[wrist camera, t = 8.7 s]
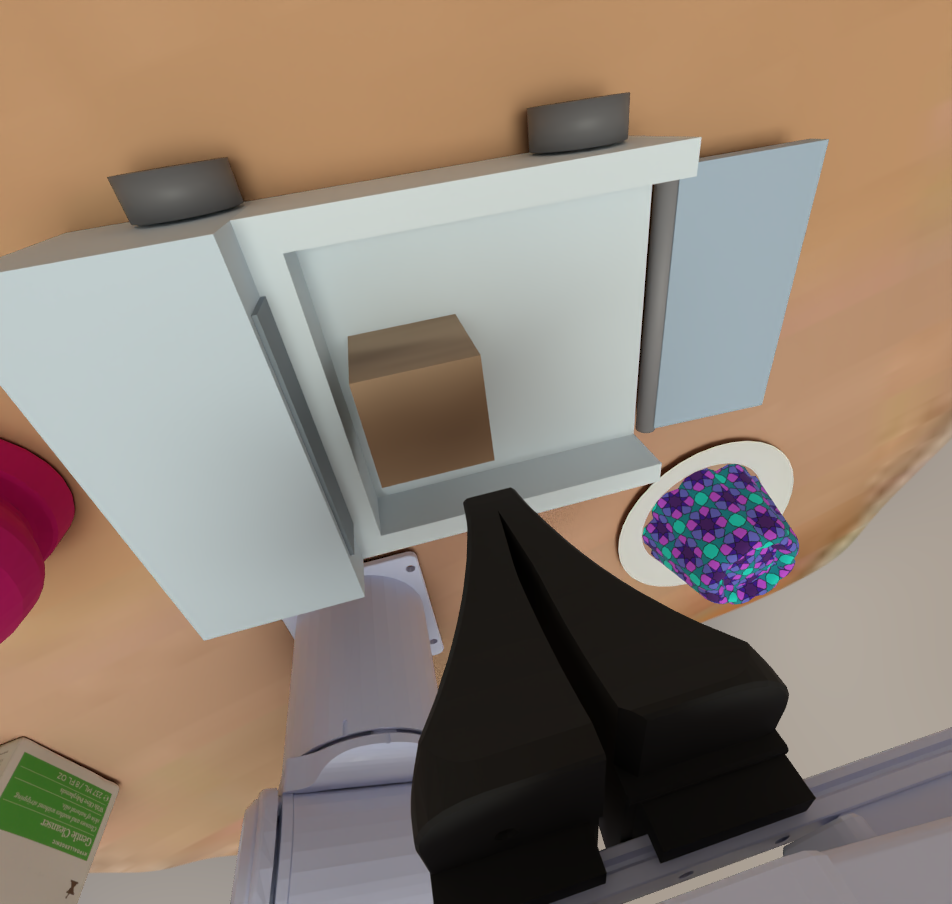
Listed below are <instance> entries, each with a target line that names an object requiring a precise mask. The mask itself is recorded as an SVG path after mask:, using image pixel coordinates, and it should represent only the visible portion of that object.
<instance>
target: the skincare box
mask: <svg viewBox="0 0 952 904" xmlns="http://www.w3.org/2000/svg"><path fill="white" fill-rule="evenodd" d="M118 792H119V786H118V785H117V784H115V783H113V782H111V781H109V780H106V779H104V778H102V777H101V776H99V775H97V774H95V773H94V772H92V771H90V770H88V769H86V768H84V767H82V766H79V765H78V764H76V763H74V762H72V761H70V760H68V759H66V758H64V757H62V756H60V755H58V754H56V753H54V752H52V751H50V750H48V749H46V748H44V747H42V746H40V745H38V744H37V743H35V742H33V741H31V740H29V739H27V738H24V737H21V738H19V739H16V740H14V741H11V742H9V743H6V744H4V745H1V746H0V904H77V903H78V900H79V897H80V894H81V891H82V889H83V886H84V883H85V881H86V878H87V875H88V873H89V870H90V867H91V865H92V862H93V859H94V856H95V854H96V851H97V849H98V846H99V843H100V841H101V838H102V835H103V832H104V830H105V827H106V824H107V821H108V819H109V816H110V813H111V811H112V808H113V805H114V803H115V800H116V797H117V795H118Z"/></svg>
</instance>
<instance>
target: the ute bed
mask: <svg viewBox="0 0 952 904" xmlns="http://www.w3.org/2000/svg"><path fill="white" fill-rule="evenodd" d="M629 105H630V92H628V93H621V94H613V95H607V96H600V97H593V98H587V99H580V100H574V101H568V102H562V103H555V104H549V105H543V106H538V107H532V108H527V120H528V138H529V153H524V154H518V155H512V156H506V157H501V158H495V159H489V160H483V161H478V162H472V163H466V164H460V165H454V166H449V167H443V168H437V169H431V170H426V171H420V172H414V173H408V174H403V175H397V176H391V177H385V178H379V179H374V180H368V181H362V182H356V183H351V184H345V185H339V186H333V187H328V188H322V189H316V190H310V191H305V192H299V193H293V194H287V195H281V196H276V197H270V198H264V199H258V200H253V201H247V202H243V199H242V196H241V194H240V191H239V188H238V185H237V183H236V180H235V177H234V175H233V172H232V169H231V167H230V164H229V161H228V158H227V157H225V158H218V159H211V160H205V161H198V162H192V163H186V164H180V165H174V166H168V167H162V168H156V169H150V170H144V171H138V172H132V173H127V174H121V175H116V176H111V177H107V178H108V180H109V182H110V184H111V186H112V188H113V190H114V192H115V194H116V196H117V198H118V200H119V202H120V204H121V206H122V208H123V210H124V212H125V214H126V216H127V218H128V220H129V222H126V223H120V224H114V225H108V226H103V227H97V228H91V229H85V230H80V231H74V232H68V233H64V234H61V235H59V236H56V237H53V238H51V239H48V240H45V241H42V242H40V243H37V244H34V245H32V246H29V247H26V248H24V249H21V250H18V251H16V252H13V253H10V254H7V255H5V256H2V257H0V386H1V387H2V388H3V389H4V391H5V392H6V393H7V394H8V396H9V397H10V398H11V399H12V401H13V402H14V403H15V404H16V406H17V407H18V408H19V409H20V411H21V412H22V413H23V414H24V416H25V417H26V418H27V419H28V421H29V422H30V423H31V424H32V426H33V427H34V428H35V429H36V431H37V432H38V433H39V434H40V436H41V437H42V438H43V439H44V441H45V442H46V443H47V444H48V446H49V447H50V448H51V449H52V451H53V452H54V453H55V455H56V456H57V457H58V458H59V460H60V461H61V462H62V463H63V465H64V466H65V467H66V468H67V470H68V471H69V472H70V473H71V475H72V476H73V477H74V478H75V480H76V481H77V482H78V483H79V485H80V486H81V487H82V488H83V490H84V491H85V492H86V493H87V495H88V496H89V497H90V498H91V500H92V501H93V502H94V503H95V505H96V506H97V507H98V508H99V510H100V511H101V512H102V513H103V515H104V516H105V517H106V518H107V520H108V521H109V522H110V523H111V525H112V526H113V527H114V528H115V530H116V531H117V532H118V533H119V535H120V536H121V537H122V538H123V540H124V541H125V542H126V543H127V545H128V546H129V547H130V548H131V550H132V551H133V552H134V554H135V555H136V556H137V557H138V559H139V560H140V561H141V562H142V564H143V565H144V566H145V567H146V569H147V570H148V571H149V572H150V574H151V575H152V576H153V577H154V579H155V580H156V581H157V582H158V584H159V585H160V586H161V587H162V589H163V590H164V591H165V592H166V594H167V595H168V596H169V597H170V599H171V600H172V601H173V602H174V604H175V605H176V606H177V607H178V609H179V610H180V611H181V612H182V614H183V615H184V616H185V617H186V619H187V620H188V621H189V622H190V624H191V625H192V626H193V627H194V629H195V630H196V631H197V632H198V634H199V635H200V636H201V637H202V639H203V640H208V639H212V638H216V637H219V636H223V635H227V634H230V633H234V632H238V631H241V630H245V629H249V628H252V627H256V626H260V625H263V624H267V623H271V622H274V621H278V620H282V619H285V618H289V617H293V616H296V615H300V614H304V613H308V612H311V611H315V610H319V609H322V608H326V607H330V606H333V605H337V604H341V603H344V602H348V601H352V600H355V599H359V598H363V597H365V584H364V564H363V559H365V558H369V557H373V556H376V555H380V554H384V553H388V552H392V551H396V550H399V549H403V548H407V547H411V546H415V545H418V544H422V543H426V542H430V541H434V540H437V539H441V538H445V537H449V536H453V535H456V534H460V533H464V532H467V521H466V516H465V511H464V506H463V502H464V501H465V500H466V498H470V497H474V496H478V495H482V494H486V493H490V492H494V491H498V490H502V489H506V488H510V487H511V488H513V489H515V490H516V492H517V493H518V494H519V495H520V496H521V497H522V498H523V500H524V501H525V502H526V503H527V504H528V505H529V506H530V507H531V508H532V509H533V510H534V511H535V512H536V513H540V512H544V511H548V510H552V509H555V508H559V507H563V506H567V505H571V504H574V503H578V502H582V501H586V500H590V499H594V498H597V497H601V496H605V495H609V494H613V493H616V492H620V491H624V490H628V489H632V488H635V487H639V486H643V485H647V484H651V483H654V482H658V481H660V474H661V465H662V463H661V462H660V461H659V460H658V459H657V458H656V457H655V456H654V455H653V454H652V453H651V452H650V451H649V450H648V449H647V448H646V447H645V446H644V444H643V443H642V442H641V441H640V440H639V439H638V438H637V437H636V436H635V435H634V421H635V407H636V394H637V381H638V367H639V354H640V341H641V327H642V314H643V301H644V287H645V274H646V261H647V247H648V234H649V221H650V207H651V194H652V184H658V183H663V182H668V181H674V180H679V179H685V178H690V177H695V176H697V170H698V162H699V154H700V145H701V137H675V136H628V126H629ZM452 314H456V316H457V318H458V319H459V321H460V322H461V324H462V326H463V327H464V329H465V331H466V332H467V334H468V335H469V337H470V339H471V340H472V342H473V344H474V345H475V347H476V348H477V350H478V352H479V353H480V355H481V362H482V369H483V377H484V384H485V392H486V399H487V407H488V414H489V422H490V429H491V436H492V444H493V451H494V459H495V460H494V461H490V462H486V463H482V464H478V465H474V466H470V467H466V468H462V469H458V470H453V471H449V472H445V473H441V474H437V475H433V476H429V477H425V478H421V479H417V480H413V481H409V482H405V483H401V484H397V485H393V486H389V487H385V488H382V486H381V483H380V480H379V477H378V474H377V471H376V468H375V464H374V461H373V458H372V455H371V452H370V449H369V446H368V443H367V439H366V436H365V433H364V430H363V427H362V424H361V421H360V418H359V414H358V411H357V408H356V405H355V402H354V399H353V396H352V393H351V389H350V386H349V371H348V336H352V335H357V334H362V333H366V332H371V331H376V330H381V329H386V328H390V327H395V326H400V325H405V324H409V323H414V322H419V321H424V320H429V319H433V318H438V317H443V316H448V315H452Z"/></svg>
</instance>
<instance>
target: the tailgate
mask: <svg viewBox="0 0 952 904" xmlns="http://www.w3.org/2000/svg"><path fill="white" fill-rule="evenodd" d="M828 141H829V139H806V140H800V141H794V142H789V143H783V144H777V145H772V146H766V147H760V148H754V149H749V150H743V151H737V152H731V153H726V154H720V155H714V156H709V157H703V158H699V162H698V170H697V176H695V177H690V178H685V179H679V180H674V181H668V182H663V183H658V184H654V196H653V209H652V222H651V235H650V248H649V261H648V274H647V287H646V300H645V313H644V325H643V338H642V351H641V364H640V377H639V390H638V403H637V416H636V430H637V431H639V432H641V433H650V432H653V431H654V430H655V428H658V427H663V426H667V425H672V424H676V423H681V422H685V421H690V420H695V419H699V418H704V417H708V416H713V415H717V414H722V413H727V412H731V411H736V410H740V409H745V408H749V407H754V406H758V405H762V402H763V398H764V394H765V390H766V386H767V382H768V378H769V374H770V370H771V366H772V363H773V359H774V355H775V351H776V347H777V343H778V339H779V335H780V331H781V327H782V323H783V319H784V315H785V311H786V307H787V303H788V299H789V295H790V291H791V287H792V283H793V279H794V275H795V271H796V268H797V264H798V260H799V256H800V252H801V248H802V244H803V240H804V236H805V232H806V228H807V224H808V220H809V216H810V212H811V208H812V204H813V200H814V196H815V192H816V188H817V184H818V180H819V177H820V173H821V169H822V165H823V161H824V157H825V153H826V149H827V145H828Z"/></svg>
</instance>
